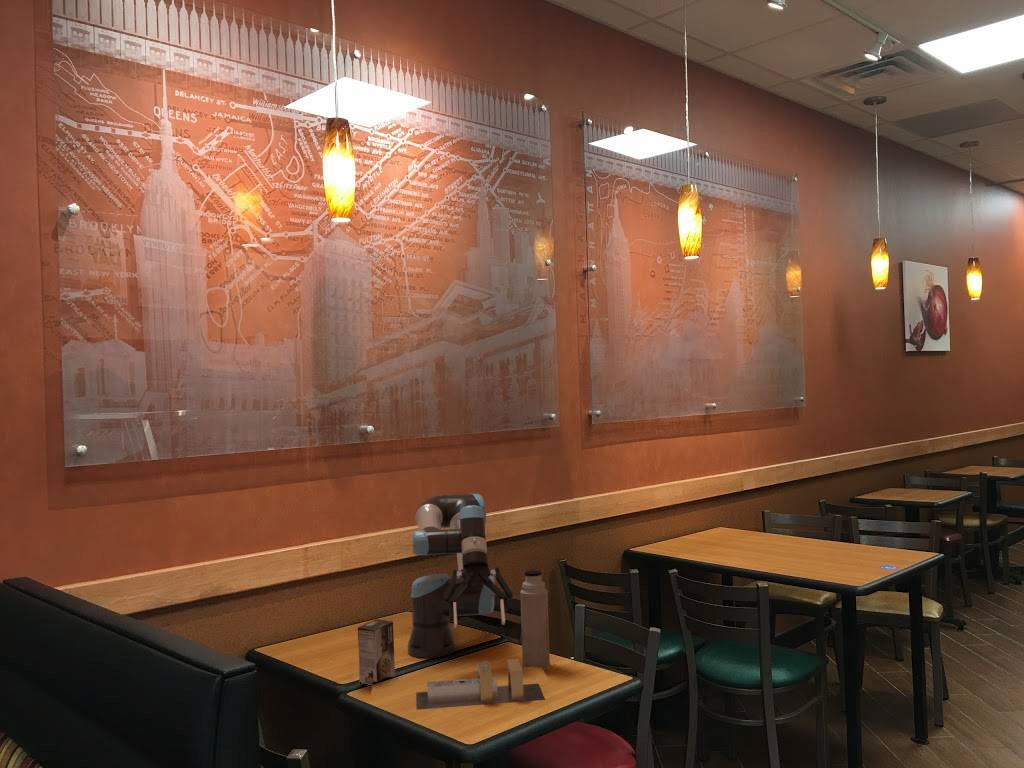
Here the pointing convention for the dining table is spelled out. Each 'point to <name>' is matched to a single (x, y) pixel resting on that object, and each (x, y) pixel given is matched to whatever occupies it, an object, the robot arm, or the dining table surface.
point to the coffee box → (376, 651)
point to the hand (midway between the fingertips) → (479, 624)
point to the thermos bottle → (534, 621)
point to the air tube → (457, 690)
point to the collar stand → (504, 693)
